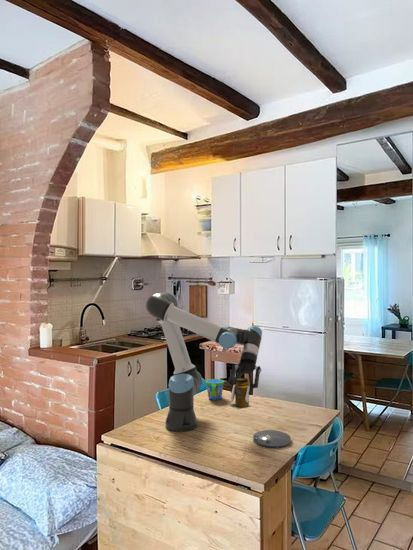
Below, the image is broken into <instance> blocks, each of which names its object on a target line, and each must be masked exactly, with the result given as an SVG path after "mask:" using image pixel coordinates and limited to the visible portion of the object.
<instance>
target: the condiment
mask: <svg viewBox="0 0 413 550" xmlns="http://www.w3.org/2000/svg"><path fill="white" fill-rule="evenodd" d="M248 379H249V378H246V377H241V378H237V379H236V385H235V397H234V400H235V401H234V402H235V403H231V404H230V403H229V404H228V406H229V407H231V408H233V409H235V410H242V409H248V408H251V407H253V405H252V404H250V400H249V401H248V402H246V400H245V397H246V393H247V388H248V386H249V382H248V381H249V380H248Z"/></svg>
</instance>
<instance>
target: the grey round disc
mask: <svg viewBox="0 0 413 550" xmlns="http://www.w3.org/2000/svg"><path fill="white" fill-rule="evenodd" d="M252 439H253V440H252V441H253V442H254V444H255V445H257V446H260V447H263V448H265V449H266V448H268V449H280V448H281V449H283V448H286V447H288V446H289V445H291V440H292V439H291V436H290V435H289V434H288V433H287V432H283V431H280V430H274V429H267V430H265V429H263V430H260V431H256V432H255V433H254V434H253V438H252Z"/></svg>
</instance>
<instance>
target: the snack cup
mask: <svg viewBox="0 0 413 550" xmlns="http://www.w3.org/2000/svg"><path fill="white" fill-rule="evenodd" d="M205 385H206V390H207V398H208V399H209V400H211V401H212V400H213V401H219V400H221V399H222V396H223V390H224V385H225V381H224V379H220V378H210V379H209V378H208V379H206V380H205Z"/></svg>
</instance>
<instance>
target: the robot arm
mask: <svg viewBox="0 0 413 550" xmlns="http://www.w3.org/2000/svg"><path fill="white" fill-rule="evenodd" d="M178 305H179V304H178V300H177V298H176V296H175V295H174V294H172V293H170V292H166V291H163V292H159V293H154V294H151V295H150V296H149V297H148V298H147V300H146V304H145V309H146V311H147V312H148V314H149V315H150V316H151V317H154V318H155V319H156V321H157V323H159V324H160V325H161V329H162V331H163V335H164V339H165V340H166V341H165V342H166V345H167V348H168V351H169V354H170V357H171V360H172V363H173V366H174V371H173V375H172V376H170V378H169V380H168V413H167V416H166V419H165V428H166V429H167V430H169V431H172V432H188V431H189V432H190V431H192V430H194V429H196V428H197V427H198V419H197V416H196V413H195V407H194V405H195V403H194V401H195V400H194V396H195V395H197V393H198V392H200V391H201V390H200V389H201V387H202V385H203V377H202V375H201V373H200V372H199V371H198V370H197V367H196V365H194V364H193V363H192V362H191V358H190V356H189V352H188V350H187V349H188V348H187V346H186V342H185V340H184V336H183V333H182V330H181V327H182V328H183V329H186V330H188V331H190V332H192V333H194V334H196V335H199V336H201V337H204V338H206V339H208V340H210V341H212V342H215V343H216V344H219V345H220V347H221V348H223V349H224V350H226V349H227V350H228V349H229V350H230V349H232V348H234V347H235V346H236V345H242V346H243V347H242V351H241V355H240V360H239V363H238V364H233V363H232V365H231V366H232V369H231V371H230V375H229V377H228V382H227V383H228V385H229V386H230V393H231V394H230V400H231V401H233V402H235V401H234V400H235V385H236V379H237V378H242V376H243V375H246V374H247V375H248V379H249V380H248V381H249V382H248V383H249V385H248V388H247V393H246V397H245V400H246V402H248V401H249V402H250V396H252V395H253V391H254V389H258V387H259V380H260V374H261V372H262V368H261V366H260V365H258V366H257V365H256V364H257V362H258V361H257V360H258V355H259V351H260V346H261V343H262V336H263V330H262V329H261V328H260V327H258V326H256V325H253V326H252V325H250V326H248V327H247V329H243V328H238V327H232V326H226V325H225V326H223V327H222V326H220V325H219V324H215V323H213V322H211V321H209V320H206V319H204V318H202V317H199V316H198V315H195V314H193V313H190V312H189V311H187V310H183V309H182V308H179V307H178ZM254 371H255V374H254V379H253V372H254ZM236 373H237V374H236Z"/></svg>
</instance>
